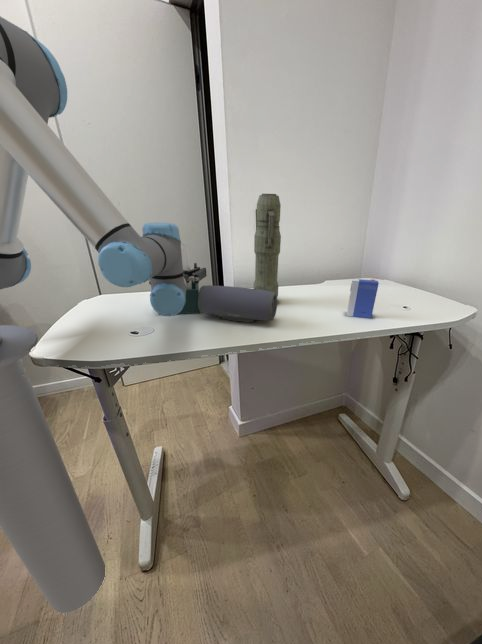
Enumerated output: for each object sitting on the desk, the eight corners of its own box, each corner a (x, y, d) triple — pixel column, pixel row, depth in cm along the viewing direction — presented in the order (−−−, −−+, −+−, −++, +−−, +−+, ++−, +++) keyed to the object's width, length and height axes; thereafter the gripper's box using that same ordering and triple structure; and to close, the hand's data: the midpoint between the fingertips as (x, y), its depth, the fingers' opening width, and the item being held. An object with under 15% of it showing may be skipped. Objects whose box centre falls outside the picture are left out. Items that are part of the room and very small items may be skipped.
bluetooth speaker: (276, 318, 92) (278, 287, 88) (270, 329, 84) (271, 295, 80) (210, 310, 97) (208, 280, 92) (198, 320, 89) (195, 287, 84)
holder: (159, 314, 92) (155, 290, 88) (163, 302, 103) (160, 280, 99) (199, 313, 94) (198, 289, 91) (199, 301, 105) (198, 279, 102)
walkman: (370, 315, 97) (378, 279, 91) (371, 318, 94) (379, 281, 89) (346, 313, 98) (352, 277, 93) (346, 315, 96) (352, 279, 90)
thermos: (271, 296, 113) (276, 194, 97) (282, 306, 103) (289, 194, 87) (249, 297, 111) (250, 193, 95) (258, 307, 101) (260, 193, 84)
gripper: (128, 299, 77) (142, 279, 96) (217, 296, 81) (213, 278, 100) (122, 270, 73) (138, 255, 92) (216, 269, 78) (212, 255, 97)
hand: (177, 267), depth 96 cm, fingers open, 11 cm apart
